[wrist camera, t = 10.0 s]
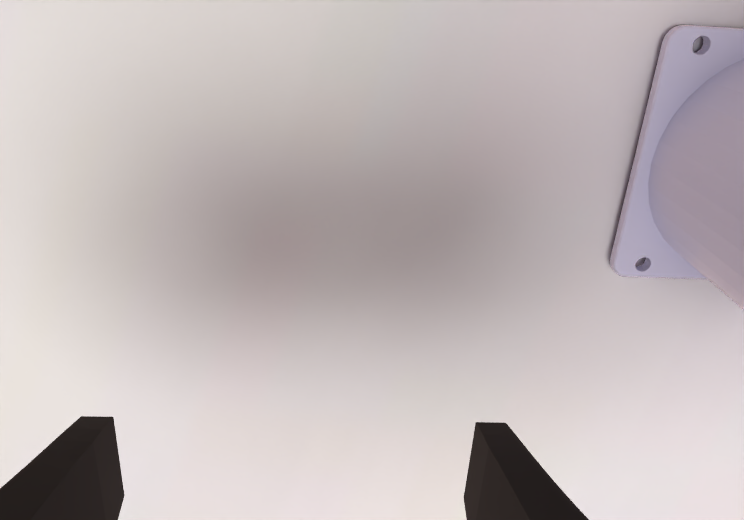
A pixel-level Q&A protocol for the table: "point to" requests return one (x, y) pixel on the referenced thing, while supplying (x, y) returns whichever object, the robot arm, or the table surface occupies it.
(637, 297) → the table surface
